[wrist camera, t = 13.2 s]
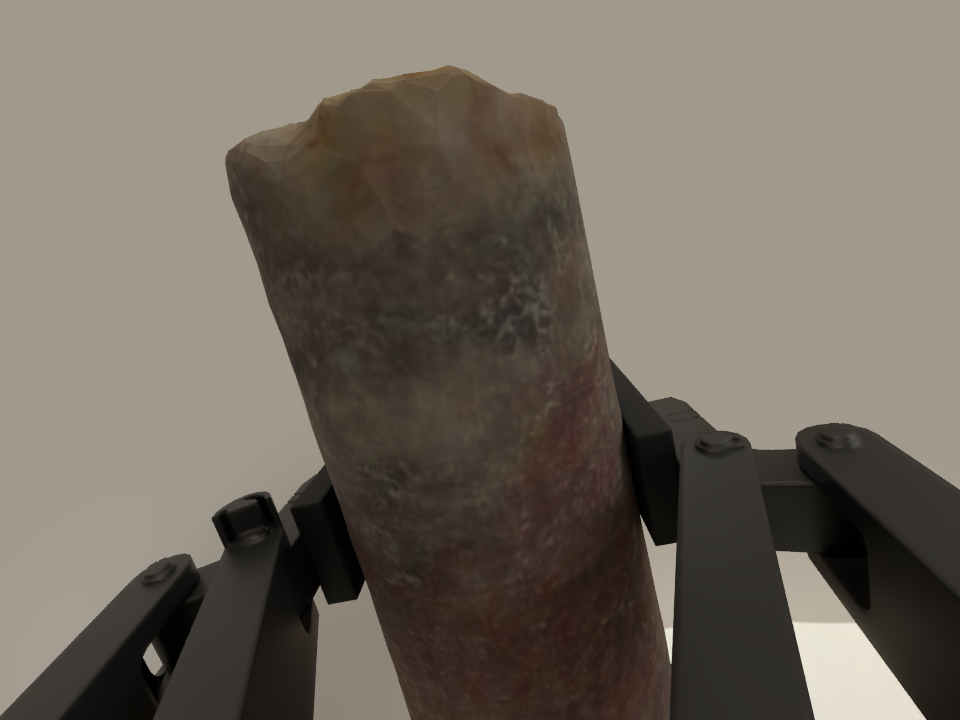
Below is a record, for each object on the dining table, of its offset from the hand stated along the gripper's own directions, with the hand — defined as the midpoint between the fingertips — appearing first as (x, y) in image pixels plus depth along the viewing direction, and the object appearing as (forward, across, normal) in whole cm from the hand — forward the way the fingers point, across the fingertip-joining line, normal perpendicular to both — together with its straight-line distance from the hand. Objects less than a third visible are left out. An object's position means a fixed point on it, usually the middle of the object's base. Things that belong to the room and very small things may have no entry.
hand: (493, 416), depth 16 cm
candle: (-5, 0, -11) cm, 12 cm away
